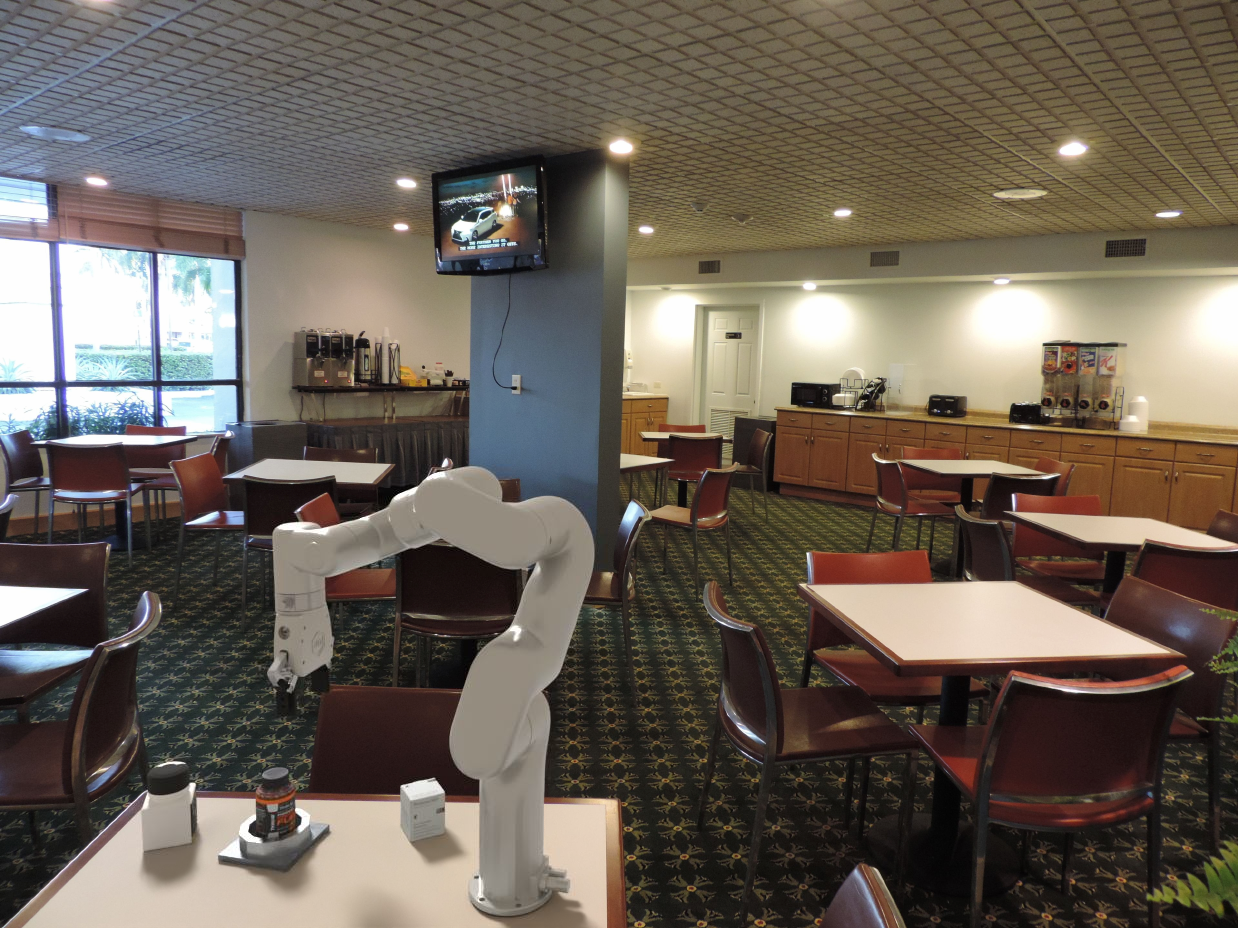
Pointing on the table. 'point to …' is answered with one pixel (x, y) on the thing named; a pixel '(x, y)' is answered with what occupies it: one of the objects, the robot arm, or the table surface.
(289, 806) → the supplement bottle
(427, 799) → the skincare box
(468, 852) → the table surface
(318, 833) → the ring plate
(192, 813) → the medicine bottle
